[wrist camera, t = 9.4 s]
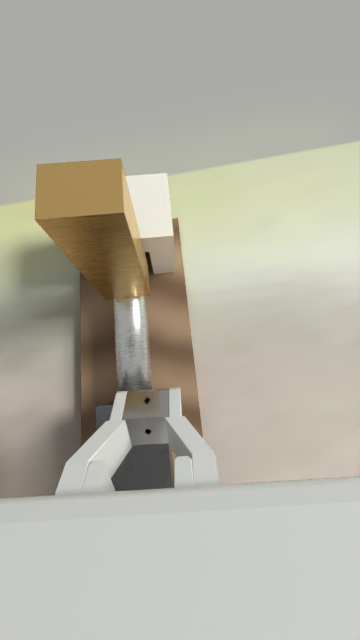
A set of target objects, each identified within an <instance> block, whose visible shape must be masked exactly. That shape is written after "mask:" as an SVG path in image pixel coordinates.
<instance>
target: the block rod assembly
mask: <svg viewBox="0 0 360 640" xmlns="http://www.w3.org/2000/svg"><path fill="white" fill-rule="evenodd" d="M36 176H37V177H36V201H35V220H36V222H37V223H38V224H39V225H40V226H41V227H42V228H43V229H44V231H45V232H46V233H47V234H48V235H49V236H50V237H51V239H52V240H53V241H54V242H55V243H56V244H57V245H58V247H59V248H60V249H61V250H62V251H63V252H64V253H65V254H66V256H67V257H68V258H69V259H70V260H71V261H72V262H73V264H74V265H75V266H76V267H77V268H78V269H79V270H80V272H81V273H82V274H83V275H84V276H85V277H86V278H87V279H88V281H89V282H90V283H91V284H92V285H93V286H94V287H95V289H96V290H97V291H98V292H99V293H100V294H101V295H102V296H103V298H104V299H105V300H108V299H113V306H114V330H115V354H116V378H117V391H135V390H152V389H153V387H152V373H151V360H150V346H149V333H148V319H147V306H146V296H150V286H149V273H148V264H147V260H146V256H145V252H144V248H143V244H142V240H141V236H140V232H139V228H138V224H137V220H136V216H135V212H134V208H133V204H132V200H131V196H130V192H129V188H128V184H127V180H126V176H125V173H124V168H123V164H122V160H121V159H120V158H119V159H106V160H93V161H80V162H65V163H51V164H38V165H37V174H36Z"/></svg>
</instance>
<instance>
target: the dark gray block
mask: <svg viewBox="0 0 360 640" xmlns="http://www.w3.org/2000/svg"><path fill="white" fill-rule="evenodd" d="M113 404H114V401H112V402H109V403H106V404H103V405H99V406H96V431H97V430H98V429H99V428H100V427H101V426H102V425H103V424H104V423H105V422H106V421H109V420H110V416H111V412H112V408H113ZM111 481H112V483H113V486H114V489H115V491H129V490H145V489H161V488H174V485H175V479H174V468H173V456H172V449H171V447H170V445H169V443H167V444H146V445H135V446H132V448H131V449H130V451H129V452H128V454H127V455H126V457H125V458H124V460H123V461H122V463H121V464H120V466H119V467H118V469H117V470H116V472H115V473H114V475H113V476H112V477H111Z"/></svg>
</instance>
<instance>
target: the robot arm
mask: <svg viewBox="0 0 360 640" xmlns="http://www.w3.org/2000/svg"><path fill="white" fill-rule="evenodd" d="M167 443H169V445H170V447H171V449H172V450H173V452H174V454H175V455H176V457H177V458H176V459H175V485H174V488H161V489H145V490H129V491H115V489H114V486H113V483H112V481H111V477H112V476H113V475H114V473H115V472H116V470H117V469H118V467H119V466H120V464H121V463H122V461H123V460H124V458H125V457H126V455H127V454H128V452H129V451H130V449H131V448H132V446H135V445H146V444H167ZM0 640H360V476H355V477H339V478H323V479H307V480H291V481H274V482H258V483H242V484H226V485H220V484H219V477H218V471H217V464H216V458H215V453H214V452H213V451H212V449H211V448H210V447H209V446H208V444H207V443H206V442H205V441H204V440H203V438H202V437H201V436H200V435H199V433H198V432H197V431H196V430H195V428H194V427H193V426H192V425H191V424H190V422H189V421H188V420H187V419H186V417H185V416H182V405H181V392H180V388H170V389H169V388H165V389H152V390H135V391H117V393H116V395H115V399H114V404H113V408H112V412H111V416H110V420H109V421H106V422H105V423H104V424H103V425H102V426H101V427H100V428H99V429H98V430H97V431H96V432H95V433H94V434H93V435H92V436H91V437H90V438H89V439H88V440H87V441H86V442H85V443H84V444H83V446H82V447H81V448H80V449H79V450H78V451H77V452H76V453H75V454H74V455H73V456H72V457H71V458H70V459H69V460H68V461H67V462H66V464H65V467H64V470H63V473H62V475H61V478H60V481H59V484H58V487H57V489H56V492H55V495H49V496H33V497H17V498H0Z"/></svg>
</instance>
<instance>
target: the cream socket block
mask: <svg viewBox="0 0 360 640" xmlns="http://www.w3.org/2000/svg"><path fill="white" fill-rule="evenodd" d="M126 180H127V184H128V188H129V192H130V196H131V200H132V204H133V208H134V212H135V216H136V220H137V224H138V228H139V232H140V236H141V240H142V244H143V248H144V252H149V254H150V258H151V263H152V268H153V272H154V274H161V273H173V272H174V234H173V225H172V216H171V206H170V197H169V188H168V178H167V173H164V174H163V173H162V174H150V175H136V176H126Z"/></svg>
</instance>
